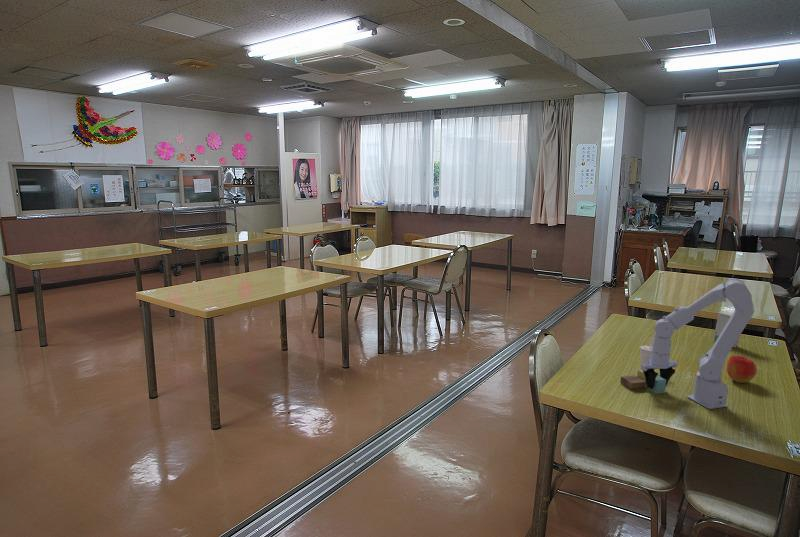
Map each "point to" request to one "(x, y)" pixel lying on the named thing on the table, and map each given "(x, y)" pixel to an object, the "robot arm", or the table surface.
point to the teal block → (659, 385)
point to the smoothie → (646, 353)
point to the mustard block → (641, 375)
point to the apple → (741, 369)
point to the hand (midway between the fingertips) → (656, 386)
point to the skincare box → (722, 325)
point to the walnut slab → (633, 382)
